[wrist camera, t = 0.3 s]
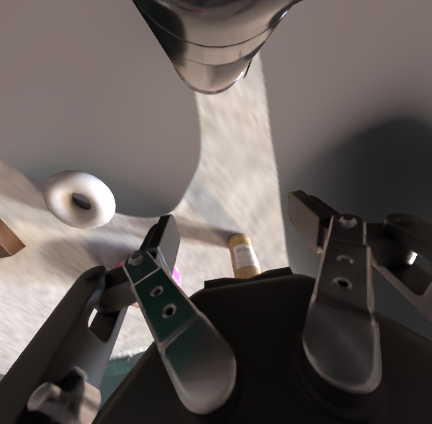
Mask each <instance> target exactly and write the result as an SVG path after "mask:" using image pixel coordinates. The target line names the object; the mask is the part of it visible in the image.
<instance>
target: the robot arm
mask: <svg viewBox="0 0 432 424" xmlns="http://www.w3.org/2000/svg"><path fill="white" fill-rule="evenodd" d="M132 1H133V2H134V4H135V5H136V7H137V9H138V10H139V12H140V13H141V15H142V16H143V18H144V19H145V21H146V22H147V24H148V25H149V27H150V29H151V30H152V32H153V33H154V35H155V36H156V38H157V39H158V41H159V43H160V44H161V46H162V47H163V49H164V51H165V52H166V54H167V55H168V57H169V59H170V60H171V62H172V63H173V65H174V67H175V69H176V71H177V73H178V75H179V76H180V78H181V79H182V80H183V81H184V82H185V83H186V85H188V86H189V87H190V88H191V89H193V90H195V91H196V92H199V93H202V94H206V95H214V94H219V93H221V92H224V91H226V90H227V89H229V88H230V87H231V86H232V85H233V84H234V83H235V82H236V81H237V80H238V78H239V77H240V75H241V74H242V72H243V71H244V69H245V68H246V67H247V65H248V64H249V65H248V68H247V70H246V73H245V75H244V78H245V76H246V74H247V72H248V69H249V67H250V64H251V62H252V59H253V57H254V56H255V55H256V53H257V52H258V51H259V49H260V48H261V46H262V45H263V44H264V43H265V41H266V40H267V39H268V37H269V36H270V35H271V33H272V32H273V31H274V29H275V28H276V27H277V25H278V24H279V22H280V21H281V20H282V18H283V17H284V16H285V14H286V13H287V12H288V10H289V9H290V8H291V7H292V5H294V4H296V3H298V2H300V1H302V0H132ZM244 78H243V79H244ZM287 213H288V218H289V220H290V222H291V223H292V224H293V226H294V227H295V228H296V229H297V230H298V232H299V233H300V234H301V235H302V237H303V238H304V239H305V241H306V242H307V243H308V244H309V246H310V247H311V248H312V249H313V251H314V252H315V253H320V252H322V257H321V261H320V265H319V270H318V274H317V278H316V279H315V278H312V277H309V276H306V275H301V274H293V273H292V271H291V269H290V267H285V268H279V269H273V270H268V271H265V272H263V273H261V274H258V275H256V276H253V277H251V278H248V279H242V278H220V279H214V280H208V281H204V288H203V289H201V290H199V291H197V292H196V293H194V294H193V295H192V296H190V297H189V298H188V297H187V295H186V294H185V293H184V292H183V291H182V289H181V288H180V287H179V286H178V284H177V283H176V282H175V281H174V280H173V278H172V275H173V270H174V266H175V261H176V257H177V253H178V248H179V244H180V233H179V230H178V227H177V225H176V222H175V219H174V216H173V215H172V214H170V215H165V216H161V217H160V219H159V221H158V223H157V224H155V225H154V226H152V227H151V228H150V230H149V231H148V233H147V235H146V237H145V239H144V241H143V243H142V245H141V247H140V249H139V251H136V252H134V253H132V254H130V255H129V256H127V257H126V258H125V260H124V261H123V263H122V266H121V267H118V268H116V269H113V270H111V271H107V269H106V268H105V267H104V266H96V267H93V268H91V269H89V270H87V271H86V272H84V273H83V274H82V275H81V276H80V277H79V278H78V279H77V280H76V281H75V283H74V284H73V285H72V287H71V288H70V289H69V291H68V292H67V293H66V295H65V296H64V297H63V299H62V300H61V301H60V303H59V304H58V305H57V307H56V308H55V309H54V311H53V312H52V313H51V315H50V316H49V317H48V319H47V320H46V321H45V323H44V324H43V325H42V327H41V328H40V329H39V331H38V332H37V333H36V335H35V336H34V337H33V339H32V340H31V341H30V343H29V344H28V345H27V347H26V348H25V349H24V351H23V352H22V353H21V355H20V356H19V357H18V359H17V360H16V361H15V363H14V364H13V365H12V367H11V368H10V369H9V371H8V372H7V373H6V375H5V376H4V378H3V379H2V380H1V382H0V424H432V341H431V340H429V339H427V338H425V337H424V336H422V335H420V334H418V333H416V332H414V331H412V330H411V329H409V328H407V327H405V326H403V325H401V324H399V323H398V322H396V321H394V320H392V319H390V318H388V317H386V316H385V315H383V314H381V313H379V312H377V311H375V310H374V293H373V277H372V266H374V267H375V268H376V269H377V270H378V271H379V272H380V273H381V274H382V275H383V276H384V277H385V278H386V279H388V281H390V282H391V283H392V284H393V285H394V286H395V287H396V288H397V289H398V290H399V291H400V292H401V293H402V294H403V295H404V296H405V297H406V298H407V299H408V300H409V301H410V302H411V303H412V304H413V305H414V306H415V307H416V308H417V309H418V310H419V311H420V312H422V314H423V315H424V316H425V317H426V318H428V319H429V320H430V321H431V322H432V275H431V274H429V273H428V272H427V271H425V270H424V269H423V268H421V267H420V266H419V265H417V264H416V263H415V262H414V259H415V257H416V255H417V254H418V255H419V256H420V257H422V258H423V259H425V260H426V261H427V262H429V263H430V264H431V265H432V223H430V222H428V221H427V220H424V219H422V218H420V217H417V216H414V215H408V214H390V215H388V216H386V218H385V221H384V223H366V222H365V221H364V220H363V219H362V218H360V217H358V216H355V215H350V214H339V213H338V212H337V211H335V210H334V209H332V208H331V207H330V206H327V204H326V203H324V202H323V201H321V200H320V199H318V198H317V197H314V196H308V195H307V194H306V193H304V192H303V191H301V190H297V191H292V192H289V193H288V209H287ZM136 302H137V303H138V305H139V307H140V309H141V312H142V314H143V316H144V318H145V320H146V322H147V325H148V327H149V329H150V331H151V333H152V336H153V338H154V341H153V343H152V344H151V345H150V346H149V348H148V349H147V350H146V351H145V353H144V354H143V355H142V357H141V358H140V359H139V360H138V362H137V363H136V364H135V365H134V367H133V368H132V369H131V371H130V372H129V373H128V374H127V376H126V377H125V378H124V379H123V381H122V382H121V383H120V385H119V386H118V387H117V388H116V390H115V391H114V392H113V393H112V395H111V396H110V397H109V399H108V400H107V401H106V402H105V404H104V405H103V407H102V408H101V409H100V410H99V408H100V403H101V395H100V392H99V390H98V389H99V386H100V383H101V380H102V378H103V375H104V372H105V369H106V367H107V364H108V361H109V358H110V356H111V353H112V350H113V347H114V345H115V342H116V339H117V336H118V334H119V331H120V328H121V325H122V323H123V320H124V317H125V314H126V312H127V309H128V306H130V305H132V304H134V303H136ZM94 308H95V309H96V310H97V313H96V315H95V317H94V319H93V321H92V323H91V325H90V327H88V321H89V317H90V315H91V313H92V312H93V310H94Z"/></svg>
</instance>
